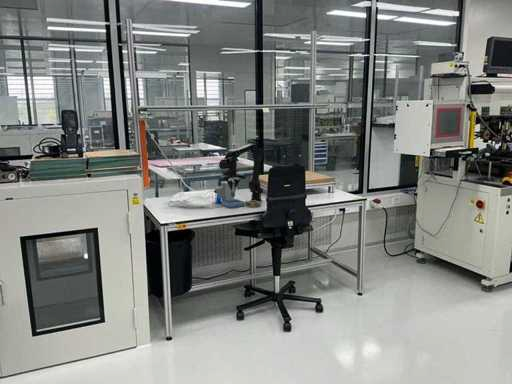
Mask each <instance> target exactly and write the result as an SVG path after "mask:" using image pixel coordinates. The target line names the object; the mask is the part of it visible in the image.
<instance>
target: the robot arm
mask: <svg viewBox="0 0 512 384" xmlns="http://www.w3.org/2000/svg"><path fill="white" fill-rule="evenodd" d="M249 151H250V152H251V154H252V156H251V157H252V159H253V166H252V177H251V179H250V180H249V181H248V188H249V190H250V193H251V199H250V201H252V200H256V201H259V202H262V201H263V199H262V194H263V192H264V189H263V188H262V187H261V182H260V171H261V162H262V159H263V157H264V154H265V151H264V149H263V148H260V147H258V146H256V144H254V143H248V144H246V145H243V146H241V147H239V148H233V149H228V150H227V152H226V155H225V156H224V158H222V159H220V161H219V163H218V166H219V169H220V170H222V171H221V174H222V175H221V176H219V181H220V182H221V181H227V183H228V185H229V187H230V190H232V181H236V183H235V190H236V189H237V186H238V185H239V183H240V181H241V180H245V179H246V177H247V176H246V174H243V173H239V174H238V170H239V169H238V167H237V166H238V162H239V161H240V160H239V157H240V156H241V155H243V154H245V153H247V152H249ZM226 169H227V171H226Z"/></svg>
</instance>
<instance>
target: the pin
mask: <svg viewBox="0 0 512 384" xmlns="http://www.w3.org/2000/svg"><path fill="white" fill-rule="evenodd" d="M231 181H232V190H231V197H234V198H235V197H236V189H235V183H236V181H234V180H231Z"/></svg>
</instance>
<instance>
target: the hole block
mask: <svg viewBox="0 0 512 384" xmlns="http://www.w3.org/2000/svg"><path fill="white" fill-rule="evenodd" d="M244 202H245V206H246V207H248V208H253V209H254V208H258V207H261V206H262V201H256V200H246V201H244ZM245 206H244V207H245Z"/></svg>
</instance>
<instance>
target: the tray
mask: <svg viewBox="0 0 512 384" xmlns="http://www.w3.org/2000/svg"><path fill="white" fill-rule="evenodd" d="M220 201H221V200H220ZM220 204H221V206H222V205H223V206H222V207H225V208H227V209H233V208H240V207H245V201H244V200H241V199H238V198H234V199H233V200H226V201H221V202H220Z"/></svg>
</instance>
